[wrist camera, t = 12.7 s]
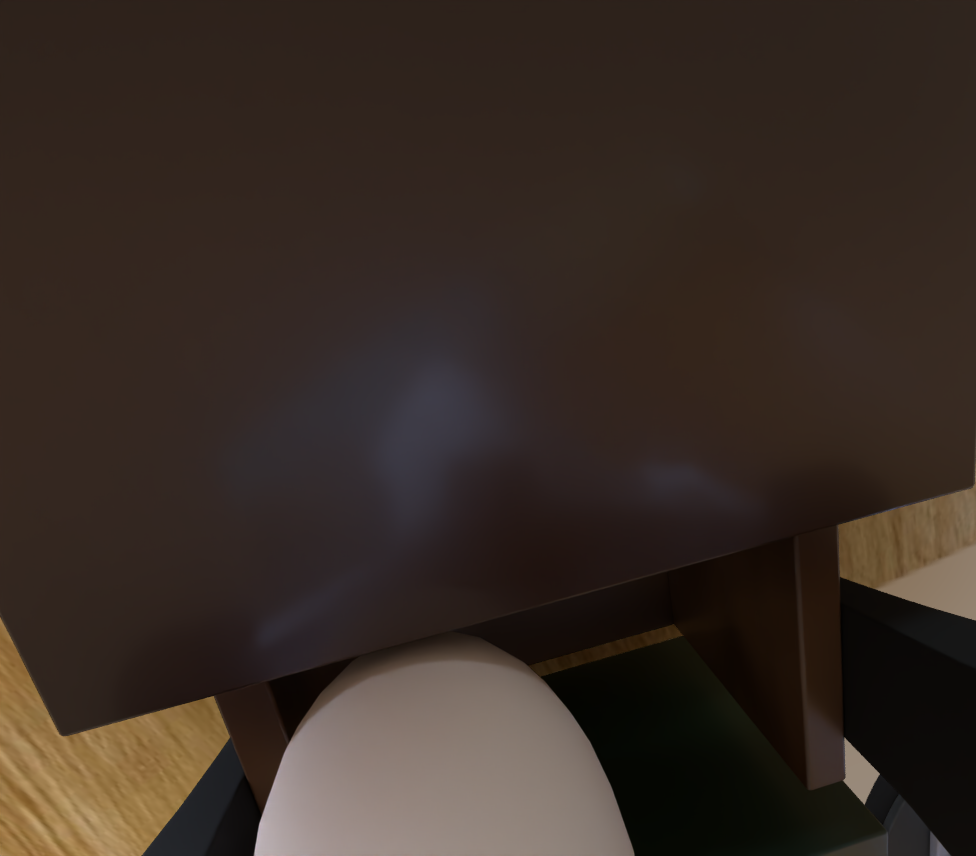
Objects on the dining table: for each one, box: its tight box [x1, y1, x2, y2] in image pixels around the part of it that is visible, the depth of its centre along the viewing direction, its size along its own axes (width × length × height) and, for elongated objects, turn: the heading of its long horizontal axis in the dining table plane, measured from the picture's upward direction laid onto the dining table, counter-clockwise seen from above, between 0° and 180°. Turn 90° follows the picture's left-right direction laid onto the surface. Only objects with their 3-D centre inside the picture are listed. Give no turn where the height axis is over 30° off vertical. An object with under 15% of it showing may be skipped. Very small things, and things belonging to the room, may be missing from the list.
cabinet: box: [0, 0, 976, 736], centre depth 10 cm, size 15×13×9 cm
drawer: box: [214, 525, 888, 856], centre depth 13 cm, size 18×11×7 cm, turn 11°
